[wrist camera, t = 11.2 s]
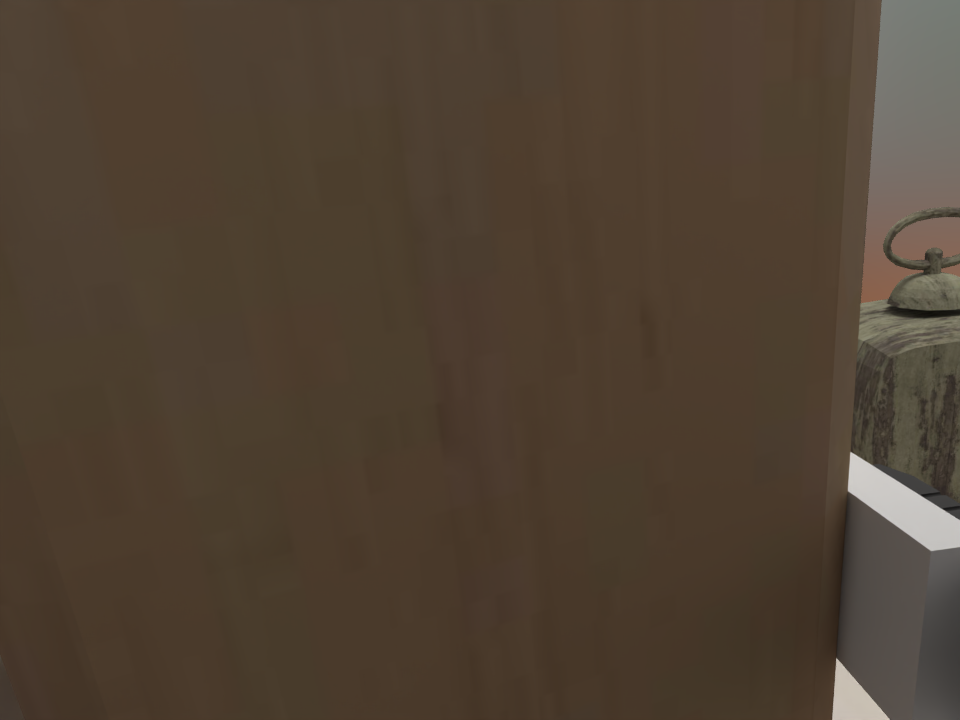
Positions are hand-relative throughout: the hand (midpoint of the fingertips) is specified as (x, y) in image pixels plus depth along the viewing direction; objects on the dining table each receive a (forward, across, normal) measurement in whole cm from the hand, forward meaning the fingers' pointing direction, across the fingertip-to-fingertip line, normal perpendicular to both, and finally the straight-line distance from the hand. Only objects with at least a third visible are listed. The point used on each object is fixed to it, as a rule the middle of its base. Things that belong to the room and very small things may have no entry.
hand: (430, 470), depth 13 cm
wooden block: (-2, 0, -11) cm, 11 cm away
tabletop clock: (+29, +36, -24) cm, 52 cm away
